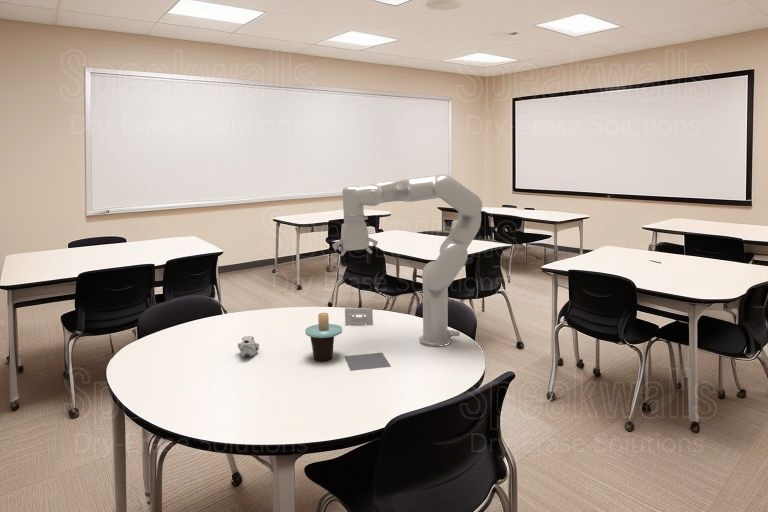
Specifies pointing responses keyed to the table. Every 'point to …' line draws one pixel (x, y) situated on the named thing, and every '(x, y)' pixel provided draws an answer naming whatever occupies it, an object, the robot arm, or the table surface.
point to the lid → (323, 328)
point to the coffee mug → (322, 348)
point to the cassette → (358, 320)
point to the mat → (366, 361)
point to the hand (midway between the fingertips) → (356, 264)
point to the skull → (248, 346)
